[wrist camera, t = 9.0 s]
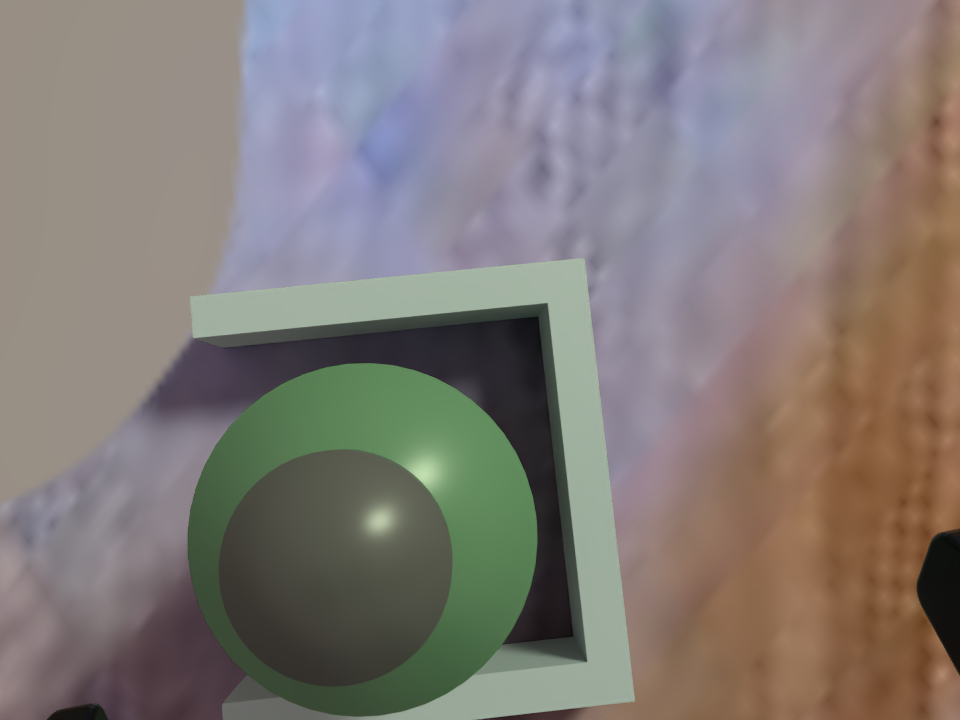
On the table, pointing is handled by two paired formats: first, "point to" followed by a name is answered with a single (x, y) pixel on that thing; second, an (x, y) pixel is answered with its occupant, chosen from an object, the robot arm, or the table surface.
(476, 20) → the table surface
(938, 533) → the robot arm
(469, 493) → the bottle
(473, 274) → the u rest
